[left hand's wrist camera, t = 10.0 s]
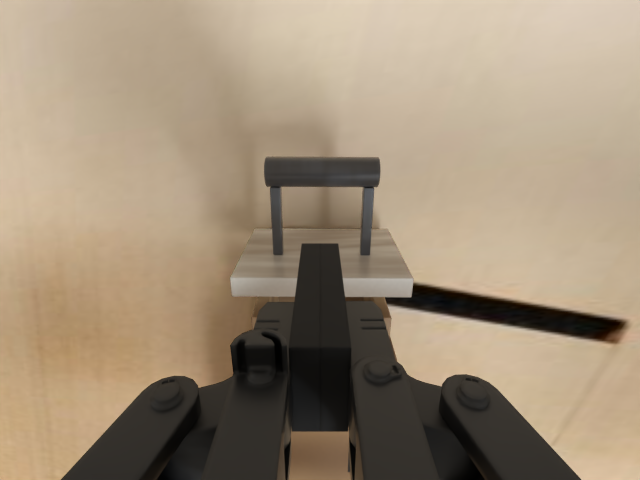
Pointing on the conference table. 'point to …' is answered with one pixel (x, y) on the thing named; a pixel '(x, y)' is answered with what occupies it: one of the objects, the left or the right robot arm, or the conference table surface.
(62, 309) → the conference table surface
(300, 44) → the conference table surface
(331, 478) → the cabinet
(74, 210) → the conference table surface
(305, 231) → the drawer
